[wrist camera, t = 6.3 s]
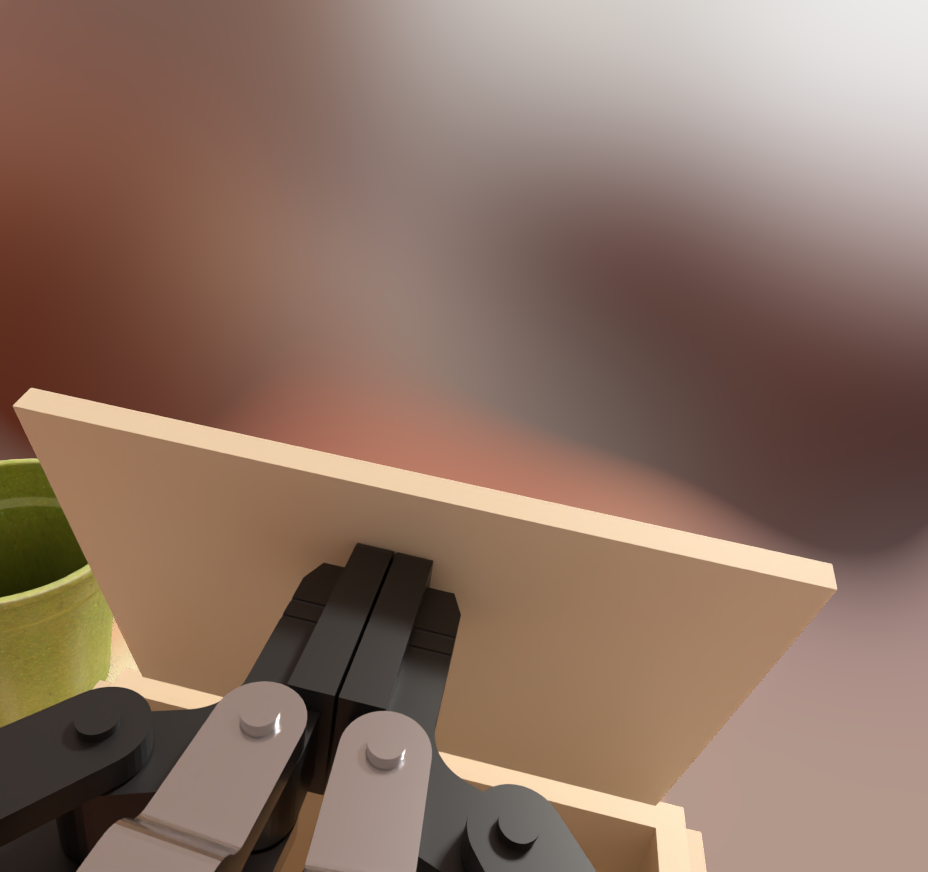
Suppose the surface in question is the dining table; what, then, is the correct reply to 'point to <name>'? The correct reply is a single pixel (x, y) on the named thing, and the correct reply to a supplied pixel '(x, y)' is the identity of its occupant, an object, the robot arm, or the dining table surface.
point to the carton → (583, 810)
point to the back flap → (454, 570)
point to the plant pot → (45, 600)
